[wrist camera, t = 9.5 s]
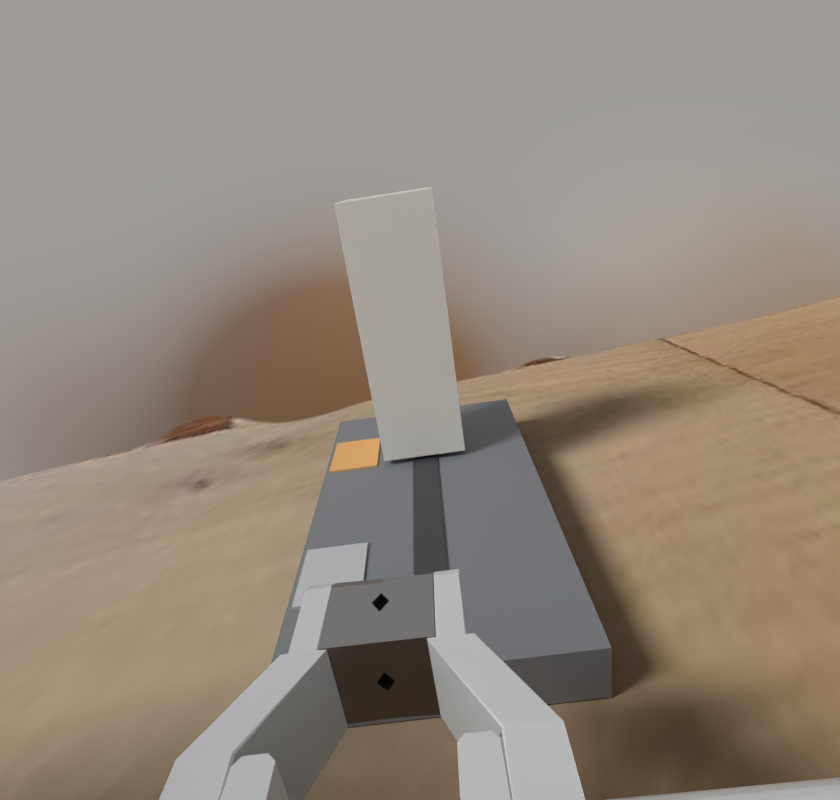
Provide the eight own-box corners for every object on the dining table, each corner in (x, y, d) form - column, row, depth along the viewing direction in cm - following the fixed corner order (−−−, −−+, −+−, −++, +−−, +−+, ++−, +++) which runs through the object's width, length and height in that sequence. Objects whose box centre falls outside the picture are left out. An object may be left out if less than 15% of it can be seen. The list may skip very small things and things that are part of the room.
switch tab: (465, 450, 26) (431, 188, 21) (384, 461, 26) (333, 203, 21) (459, 423, 29) (429, 187, 24) (386, 433, 29) (342, 200, 24)
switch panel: (612, 697, 16) (611, 645, 15) (280, 735, 16) (262, 686, 15) (508, 429, 32) (506, 397, 31) (347, 451, 33) (340, 420, 32)
